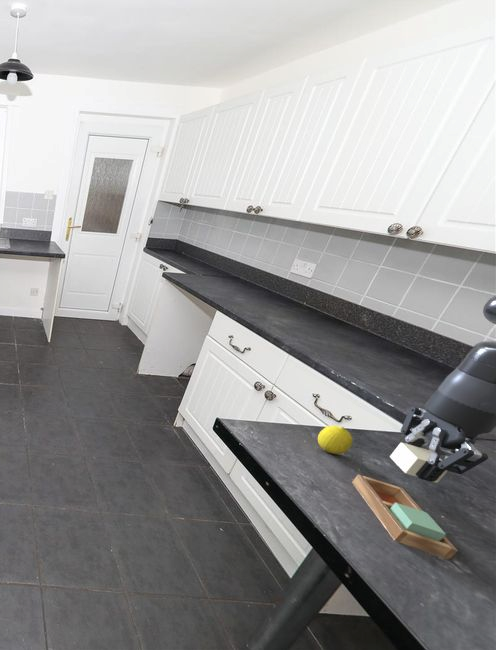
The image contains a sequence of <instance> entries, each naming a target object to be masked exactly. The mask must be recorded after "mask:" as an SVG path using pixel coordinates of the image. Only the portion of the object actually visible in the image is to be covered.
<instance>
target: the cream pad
mask: <svg viewBox="0 0 496 650" xmlns="http://www.w3.org/2000/svg"><path fill="white" fill-rule="evenodd" d="M405 443H406V442H400V443H399V444H398V445H397V446H396V448H394V450H393V452H392V453H391V454H390V455H389V458H390V459H391V460H392V461H393V462H394V463H395V464H396V466H397V467H399V469H400V470H401V471H402V472H403V473H404V474H406V475H409V476H412V477H416V478H419V477H418V476H417V475H416V473H417V472H418V471H419V469H420V468H421V467H422V466H423V465H424V464H425V462H426V461H428V459H429V456H430V454H431V450H429V449H427V448H424V447H422V448H420V447H416V446H413V445H409V444H405ZM423 448H424V449H423ZM439 460H442V458H440V459H439ZM448 472H449V471H447V470H446V471H444V472H443V474H442V475H441V476H440V477H439V478H438V479H437V480H436V481H433V482H432V483H436V484H438V483H439V482H440V481H441V480H442V479H443V477H444V476H445V475H446V474H447V473H448Z"/></svg>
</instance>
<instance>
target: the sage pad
mask: <svg viewBox="0 0 496 650" xmlns="http://www.w3.org/2000/svg"><path fill="white" fill-rule="evenodd" d="M389 510H390V511H391V512H392V514H393V515H394V516H395V518H396V519H397V520H398V521H399V523H400V524H401V525H402V526H403V528H404V529H405V530H407V531H410V532H413V533H416V534H419V535H422V536H425V537H428V538H430V539H433V540H436V541H440V540H441V539H442V538H443V537H444V536H445V537H446V536H447V533H446V532H445V531H444V530H443V529H442V528H441V527H440V526H439V525H438V523H437V522H436V521H435V520H434V519H433V518H432V516H431V515H430V514H429V513H428V512H426V511H424V510H422V511H420V510H417V509H414V508H411V507H408V506H405V505H402V504H399V503H395V504H394V505H393V506H392V507H391V508H390V509H389Z"/></svg>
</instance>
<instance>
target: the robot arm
mask: <svg viewBox="0 0 496 650" xmlns="http://www.w3.org/2000/svg"><path fill="white" fill-rule="evenodd" d="M482 313H483V316H484V318H485V319H486V321H489V322H490V323H492V324H493V325H496V294H494V295H493V296H492V297H491V298H489V299H488V300H487V302H485V304H484V305H483V309H482ZM405 416H406V417H405V419H404V421H403V424H402V426H401V428H400V433H401V434H402V435H404V436H405V437H404V441H405V442H404V443H405V444H409V445H413V446H416V447H420V448H423V449H425V448H424V447H426V446H428V445H429V446H428V450H431V454H430V456H429V459H428V461H426V462H425V464H424V465H423V466H422V467H421V468H420V469H419V471H418V472H417V473H416V475H417V476H418V477H417V478H418V479H420V480H422V481H426V482H432V483H434V482H433V481H436V480H437V479H438V478H439V477H440V476H441V475H442V474H443V472H444V471H446V470H447V471H448V472H451V473H454V474H457V475H463V474H465V473H466V472H468V471H470V470H471V469H473V468H475V467H477V466H478V465H480V464H481V463H484V462H485V461H487V460H488V459H489V455H488V454H487V453H485V452H481V451H479V450H478V449H477V447H476V446H475V444H476V442H477V437H478V436H480V435H483V434H489V433H491V432H492V431H493V430H494V429H495V428H496V340H483V341H479V342H478V343H476V344H474V345H473V347H471V348H470V350H469V351H468V352H467V354H465V356H464V358H463V359H462V360H461V361H460V363H458V365H457V366H456V367H455V369H454V370H452V371H451V372H449V374H448V375H447V376H446V377H445V378H444V379H443V381H442V382H441V383H440V384H439V386H438V387H437V388H436V390H435V391H434V392H433V394H432V395H431V396H430V398H428V400H427V401H426V403H424V408H422V407H421V408H420V407H416V406H410V408H409V409H408V412H407V414H406V415H405ZM412 426H415V427H414V428H412ZM445 449H446V450H445ZM441 456H444V459H441ZM439 459H441V460H439Z"/></svg>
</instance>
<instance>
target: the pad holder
mask: <svg viewBox="0 0 496 650" xmlns="http://www.w3.org/2000/svg"><path fill="white" fill-rule="evenodd" d="M351 483H352V485H353V486H354V488H355V489H356V490H357V491H358V493H359V494H360V496H361V497H362V498H363V500H364V501H365V503H366V504H367V505H368V507H369V508H370V509H371V511H372V512H373V514H374V515H375V516H376V517H377V519H378V521H380V523H381V524H382V526H383V527H384V528H385V530H386V531H387V532H388V534H389V535H390V537H391V538H392V539H393V541H395V542H397V543H401V544H402V545H405V546H408V547H412V548H415V549H416V550H420V551H423V552H426V553H429V554H431V555H435V556H437V557H441V558H442V559H446V560H448V561H449V560H450V559H452V558H453V556H454V555H456V554H457V553H458V552H459V551H458V550H459V549H457V548H456V547H455V545H453V543H452V542H451V541H450V540H449V539H448V537H447V536H446V535H445V536H444V537H443V538H442V539H441V540H440V541H436V540H433V539H430V538H428V537H425V536H422V535H419V534H416V533H413V532H410V531H407V530H405V529H404V528H403V526H402V525H401V524H400V523H399V521H398V520H397V519H396V518H395V516H394V515H393V514H392V512H391V511H390V510H389V509H390V508H391V507H392V506H393V505H394V504H395V503H399V504H402V505H405V506H408V507H411V508H414V509H417V510H420V511H423V509H422V508H421V507H420V506H419V505H418V503H416V501H415V500H414V499H413V498H412V496H410V495H409V494H408V492H406V490H405V489H404V488H403V487H401V486H398V485H394V484H391V483H388V482H384V481H382V480H377V479H375V478H372V477H368V476H366V475H362V474H360V473H359V474H356V476H355V478H353V480H352V482H351Z"/></svg>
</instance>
